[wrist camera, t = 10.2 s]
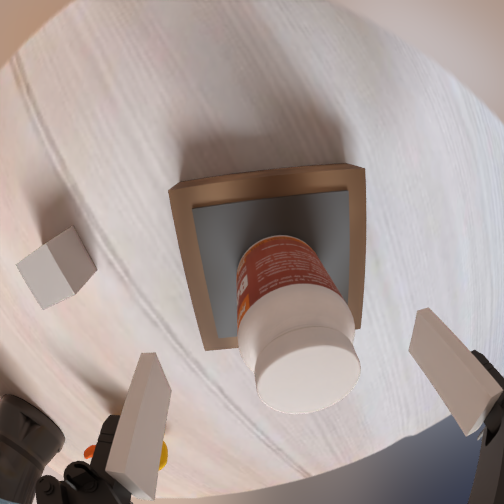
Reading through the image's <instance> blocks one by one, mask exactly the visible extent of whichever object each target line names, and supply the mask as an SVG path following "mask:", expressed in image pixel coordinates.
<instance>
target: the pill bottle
mask: <svg viewBox="0 0 504 504" xmlns="http://www.w3.org/2000/svg"><path fill="white" fill-rule="evenodd" d="M237 330H238V333H237V335H238V346H239V351H240V354H241V357H242V359H243V361H244V362H245V364H246V365H247V366H248V368H249V369H250V370H251V371H253V372H254V374H255V381H256V388H257V393H258V395H259V397H260V399H261V400H262V402H263V403H264V404H265V405H267V406H268V407H270V408H272V409H274V410H276V411H279V412H283V413H288V414H304V413H310V412H315V411H319V410H322V409H325V408H327V407H329V406H331V405H333V404H335V403H337V402H338V401H340V400H341V399H343V398H344V397H345V396H346V395H348V394H349V393H350V391H351V390H352V389H353V388H354V386H355V385H356V383H357V381H358V379H359V376H360V371H361V366H360V361H359V359H358V356H357V354H356V352H355V350H354V347H353V341H354V336H355V324H354V319H353V316H352V313H351V311H350V309H349V307H348V305H347V303H346V302H345V300H344V298H343V297H342V295H341V294H340V292H339V290H338V289H337V287H336V285H335V284H334V282H333V281H332V279H331V277H330V276H329V274H328V273H327V271H326V269H325V268H324V266H323V264H322V263H321V261H320V260H319V258H318V256H317V255H316V253H315V252H314V251H313V250H312V248H311V247H310V246H309V245H308V244H306V243H305V242H303V241H302V240H300V239H298V238H295V237H292V236H287V235H276V236H270V237H267V238H264V239H262V240H260V241H258V242H256V243H255V244H254V245H252V246H251V247H250V248H249V249H248V250H247V251H246V252H245V254H244V255H243V257H242V258H241V260H240V262H239V265H238V269H237Z"/></svg>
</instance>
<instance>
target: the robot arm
mask: <svg viewBox="0 0 504 504" xmlns="http://www.w3.org/2000/svg"><path fill="white" fill-rule="evenodd" d="M409 352H410V354H411V355H412V357H413V358H414V359H415V361H416V362H417V364H418V365H419V366H420V368H421V369H422V371H423V372H424V373H425V375H426V376H427V378H428V379H429V381H430V382H431V384H432V385H433V386H434V388H435V389H436V391H437V392H438V394H439V395H440V397H441V398H442V400H443V401H444V403H445V404H446V406H447V407H448V409H449V410H450V412H451V414H452V415H453V417H454V418H455V420H456V421H457V423H458V424H459V426H460V428H461V429H462V431H463V433H464V434H465V436H468V435H470V434H471V433H473V432H475V431H476V430H478V429H479V427H480V426H481V425H482V423H483V422H484V423H485V425H486V426H485V428H484V429H483V430H482V432H481V433H480V435H479V436H478V438H477V440H479V439H480V438H481V437H482V435H483V438H482V444H481V450H480V456H479V461H478V465H477V470H476V474H475V479H474V483H473V487H472V490H471V494H470V497H469V501H468V504H504V378H503V377H502V376H501V374H500V373H499V372H498V371H497V370H496V369H495V368H494V366H493V365H492V364H491V363H489V361H488V360H487V359H486V357H485V356H484V355H483V354H481V353H479V352H477V351H476V350H473V351H471V352H470V351H469V350H468V348H467V347H466V346H465V345H464V344H463V343H462V342H461V341H460V340H459V339H458V338H457V336H456V335H455V334H454V333H453V332H452V331H451V330H450V329H449V328H448V327H447V326H446V325H445V324H444V323H443V322H442V321H441V320H440V319H439V318H438V317H437V316H436V315H435V314H434V313H433V312H432V311H431V310H430V308H425V309H422V310H418V311H417V315H416V320H415V325H414V329H413V334H412V338H411V342H410V347H409ZM171 392H172V390H171V388H170V386H169V383H168V381H167V379H166V376H165V374H164V372H163V369H162V367H161V364H160V362H159V360H158V357H157V355H156V353H141V355H140V358H139V361H138V364H137V367H136V370H135V373H134V376H133V379H132V382H131V385H130V388H129V391H128V394H127V397H126V400H125V403H124V406H123V409H122V413H121V416H119V415H110V416H109V417H108V418H107V419H106V421H105V422H104V423H103V426H102V429H101V432H100V435H99V438H98V442H97V444H96V447H95V450H94V453H93V457H92V460H91V463H90V465H89V464H88V463H86V462H84V461H76V462H72V463H71V464H69V465H68V466H67V468H66V469H65V471H64V481H58V480H57V479H56V478H55V477H53V476H51V475H45V476H42V473H43V470H44V468H45V466H46V465H47V464H48V463H49V462H50V461H51V459H52V458H53V457H54V456H55V455H56V453H58V452H60V451H61V449H62V447H63V445H64V442H65V438H64V435H63V434H62V432H61V431H60V429H59V428H58V427H57V426H56V425H55V424H54V423H53V422H52V421H51V420H50V419H49V418H48V417H46V416H45V415H44V414H43V413H42V412H40V411H39V410H38V409H36V408H35V407H33V406H32V405H30V404H29V403H27V402H25V401H24V400H22V399H20V398H18V397H15V396H12V395H4V396H3V398H2V399H1V401H0V504H32V502H33V499H34V496H35V493H36V500H37V504H133V503H132V502H131V501H130V500H131V494H132V495H133V496H134V497H136V498H137V499H143V500H151V501H154V500H155V493H156V485H157V478H158V471H159V464H160V457H161V450H162V444H163V438H164V431H165V425H166V420H167V414H168V408H169V402H170V397H171ZM41 476H42V477H41Z"/></svg>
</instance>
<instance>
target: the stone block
mask: <svg viewBox="0 0 504 504" xmlns="http://www.w3.org/2000/svg"><path fill="white" fill-rule="evenodd" d="M16 266H17V268H18V270H19V272H20V273H21V275H22V277H23V279H24V280H25V282H26V284H27V285H28V287H29V289H30V291H31V292H32V294H33V295H34V297H35V299H36V300H37V302H38V303H39V305H40V306H41V308H42V310H44V309H47V308H49V307H51V306H53V305H55V304H57V303H59V302H61V301H63V300H65V299H67V298H69V297H72V296H74V295H76V293H77V292H78V291H79V290H80V289H81V288H82V287H83V285H84V284H85V283H86V282H87V281H88V280H89V279H90V278H91V276H92V275H93V274H94V273H95V272H96V271H97V269H96V267H95V265H94V263H93V262H92V260H91V258H90V256H89V255H88V253H87V251H86V249H85V247H84V245H83V244H82V242H81V240H80V238H79V236H78V234H77V232H76V230H75V228H74V226H71V227H70V228H68V229H66V230H65V231H63V232H62V233H60V234H59V235H57V236H56V237H54V238H53V239H51V240H50V241H48V242H47V243H45V244H44V245H42V246H41V247H39V248H38V249H36V250H35V251H34V252H32V253H31V254H29V255H28V256H27V257H25V258H24V259H23V260H21V261H20V262H19V263H17V264H16Z"/></svg>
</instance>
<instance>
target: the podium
mask: <svg viewBox="0 0 504 504" xmlns="http://www.w3.org/2000/svg"><path fill="white" fill-rule="evenodd" d="M168 193H169V198H170V204H171V209H172V214H173V219H174V224H175V229H176V234H177V239H178V244H179V248H180V253H181V258H182V262H183V266H184V271H185V275H186V279H187V284H188V288H189V292H190V296H191V300H192V304H193V308H194V312H195V316H196V320H197V323H198V327H199V331H200V335H201V338H202V342H203V345H204V349H205V351H209V350H220V349H230V348H239V346H238V335H237V333H238V330H237V269H238V265H239V262H240V260H241V258H242V257H243V255H244V254H245V252H246V251H247V250H248V249H249V248H250V247H251V246H252V245H254V244H255V243H256V242H258V241H260V240H262V239H264V238H267V237H270V236H276V235H287V236H292V237H295V238H298V239H300V240H302V241H303V242H305V243H306V244H308V245H309V246H310V247H311V248H312V250H313V251H314V252H315V253H316V255H317V256H318V258H319V260H320V261H321V263H322V264H323V266H324V268H325V269H326V271H327V273H328V274H329V276H330V277H331V279H332V281H333V282H334V284H335V285H336V287H337V289H338V290H339V292H340V294H341V295H342V297H343V298H344V300H345V302H346V303H347V305H348V307H349V309H350V311H351V313H352V316H353V319H354V324H355V330H356V329H360V328H361V318H362V307H363V294H364V279H365V258H366V179H365V168H362V167H358V166H355V165H351V164H347V163H341V164H326V165H312V166H300V167H289V168H279V169H270V170H261V171H252V172H244V173H237V174H229V175H222V176H215V177H208V178H202V179H196V180H189V181H183V182H179V183H177V184H176V185H175V186H173V187H172V188H171V189H170V190H168Z"/></svg>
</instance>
